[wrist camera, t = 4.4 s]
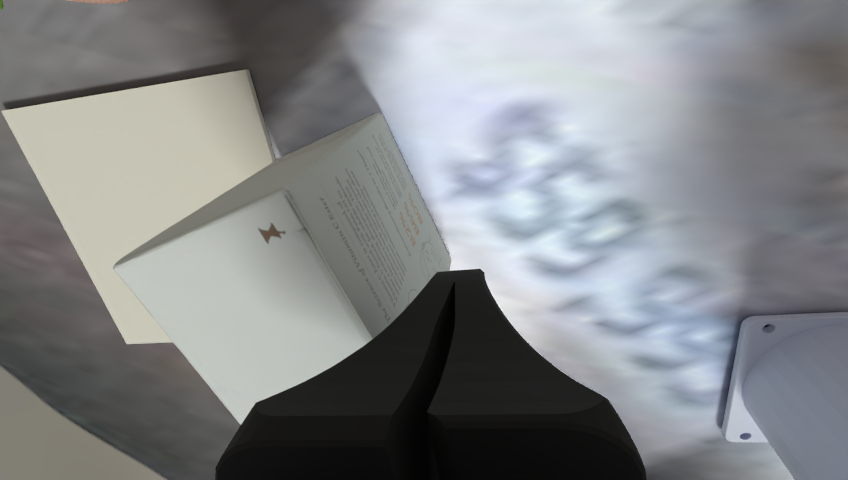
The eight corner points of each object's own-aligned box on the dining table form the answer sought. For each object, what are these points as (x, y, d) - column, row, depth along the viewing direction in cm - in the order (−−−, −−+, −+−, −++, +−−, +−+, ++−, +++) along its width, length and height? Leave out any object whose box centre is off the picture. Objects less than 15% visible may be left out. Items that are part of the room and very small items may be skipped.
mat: (248, 69, 19) (245, 69, 18) (326, 332, 24) (324, 335, 24) (7, 109, 21) (1, 110, 21) (130, 340, 27) (126, 344, 26)
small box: (279, 156, 20) (98, 260, 11) (384, 107, 19) (279, 180, 9) (357, 293, 23) (268, 472, 13) (454, 261, 21) (430, 439, 12)
